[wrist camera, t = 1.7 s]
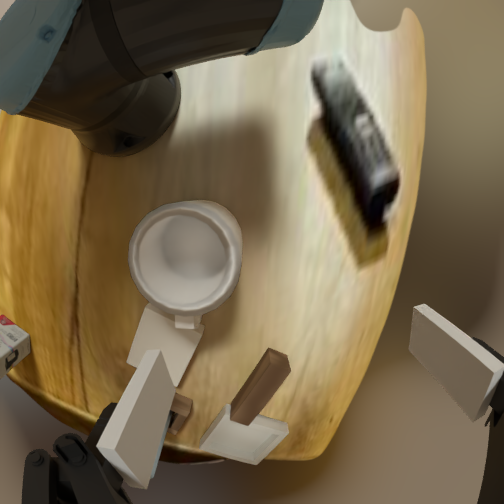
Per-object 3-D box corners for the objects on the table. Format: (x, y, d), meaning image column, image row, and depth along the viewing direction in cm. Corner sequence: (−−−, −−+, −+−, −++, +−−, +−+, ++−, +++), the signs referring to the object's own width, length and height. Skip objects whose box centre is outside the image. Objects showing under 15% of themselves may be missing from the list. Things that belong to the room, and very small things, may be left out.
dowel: (154, 405, 39) (129, 472, 24) (159, 394, 38) (133, 463, 24) (171, 412, 39) (151, 481, 25) (176, 402, 39) (156, 473, 24)
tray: (200, 439, 41) (198, 448, 38) (226, 403, 39) (225, 413, 36) (255, 455, 42) (256, 465, 39) (287, 422, 40) (289, 432, 38)
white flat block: (133, 352, 37) (126, 362, 34) (152, 298, 36) (145, 306, 33) (180, 375, 38) (176, 387, 35) (205, 324, 36) (202, 334, 33)
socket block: (141, 406, 39) (136, 417, 36) (151, 381, 38) (146, 393, 35) (178, 423, 40) (175, 435, 37) (192, 400, 39) (189, 412, 36)
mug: (241, 307, 36) (239, 350, 25) (164, 303, 35) (137, 342, 25) (243, 200, 33) (243, 202, 22) (161, 199, 33) (125, 202, 22)
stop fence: (230, 403, 39) (229, 420, 35) (268, 347, 37) (270, 363, 33) (248, 409, 39) (248, 426, 35) (287, 355, 37) (291, 371, 33)
